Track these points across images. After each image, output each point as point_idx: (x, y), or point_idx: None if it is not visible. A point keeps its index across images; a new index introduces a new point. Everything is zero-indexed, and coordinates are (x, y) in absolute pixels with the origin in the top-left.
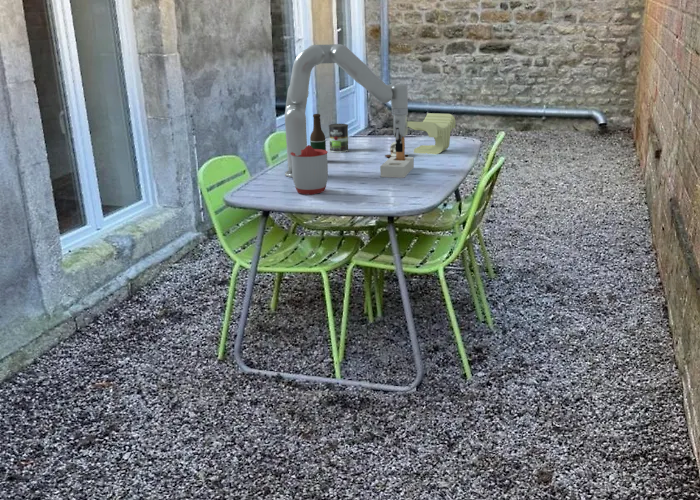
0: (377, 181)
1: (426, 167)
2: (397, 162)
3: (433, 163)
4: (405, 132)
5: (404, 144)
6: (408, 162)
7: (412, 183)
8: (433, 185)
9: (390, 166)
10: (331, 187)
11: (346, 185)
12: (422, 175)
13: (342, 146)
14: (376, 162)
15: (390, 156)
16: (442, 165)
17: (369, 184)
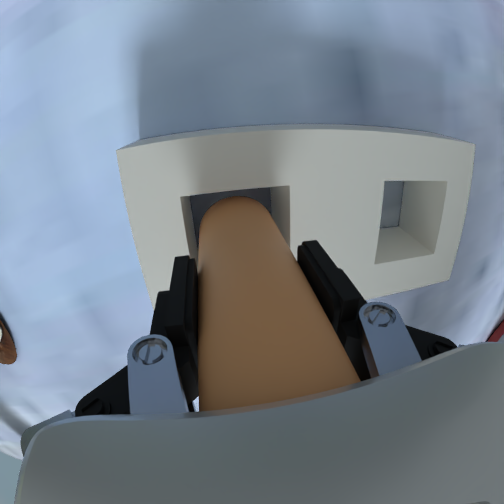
0: (471, 235)
1: (115, 57)
2: (368, 219)
3: (5, 80)
4: (404, 462)
5: (256, 279)
6: (363, 130)
7: (494, 90)
8: (495, 17)
9: (462, 226)
10: (488, 323)
11: (485, 303)
12: (368, 33)
13: None
14: (107, 370)
15: (3, 344)
16: (47, 3)
17: (494, 247)
